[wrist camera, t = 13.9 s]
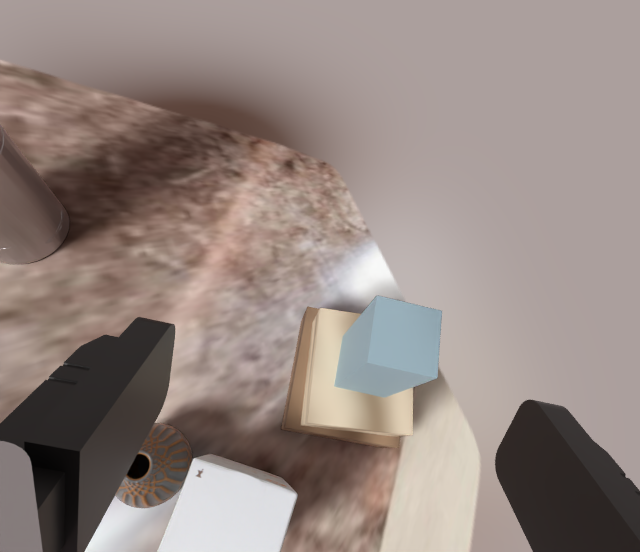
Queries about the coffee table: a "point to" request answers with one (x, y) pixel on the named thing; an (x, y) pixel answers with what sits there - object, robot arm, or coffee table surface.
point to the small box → (229, 509)
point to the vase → (157, 468)
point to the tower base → (297, 396)
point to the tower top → (341, 404)
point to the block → (390, 348)
